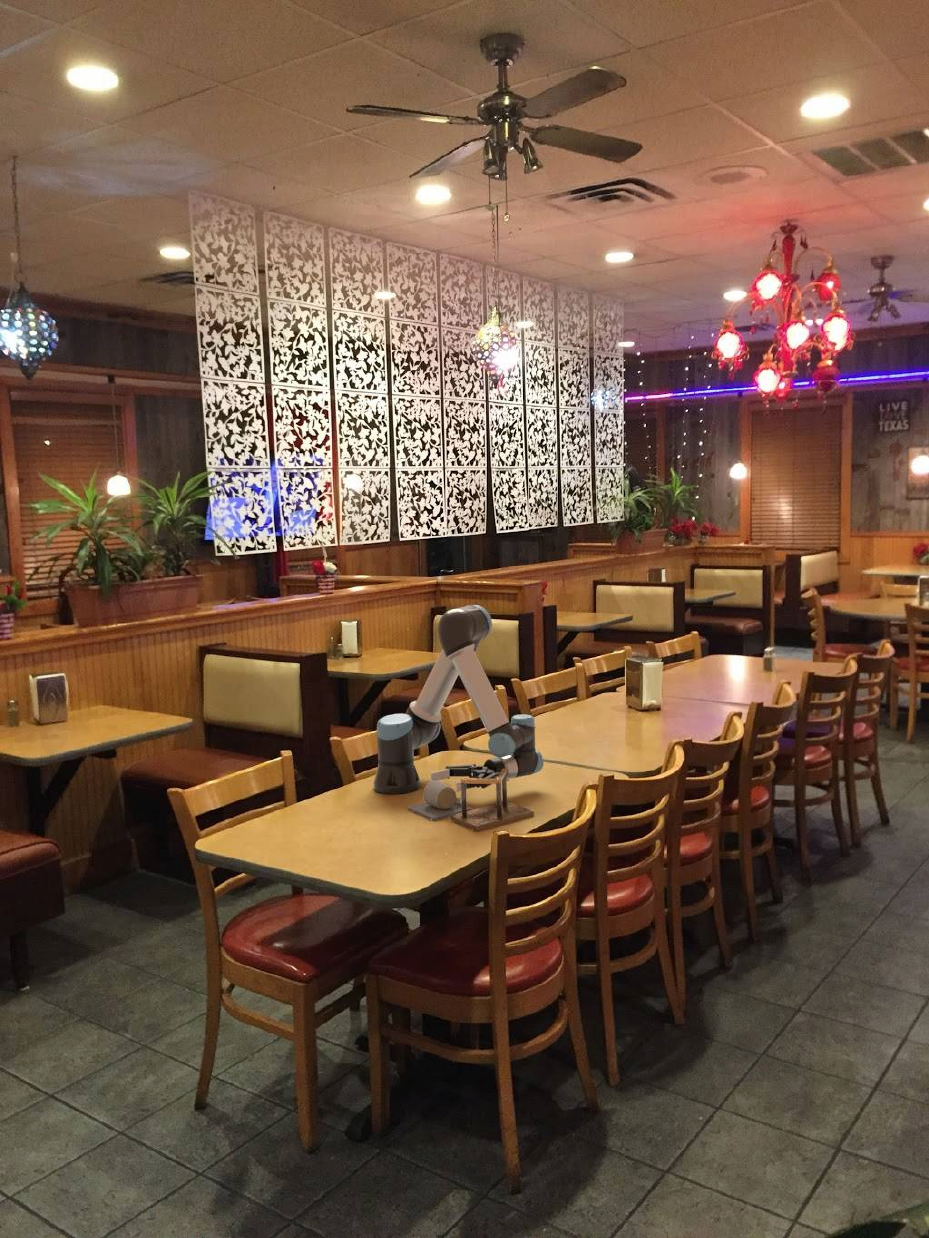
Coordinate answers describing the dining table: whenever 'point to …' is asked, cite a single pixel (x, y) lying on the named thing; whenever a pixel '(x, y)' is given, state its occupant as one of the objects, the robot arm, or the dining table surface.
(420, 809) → the rubber mat
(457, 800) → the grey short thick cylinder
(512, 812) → the bent rail stand
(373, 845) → the dining table surface
